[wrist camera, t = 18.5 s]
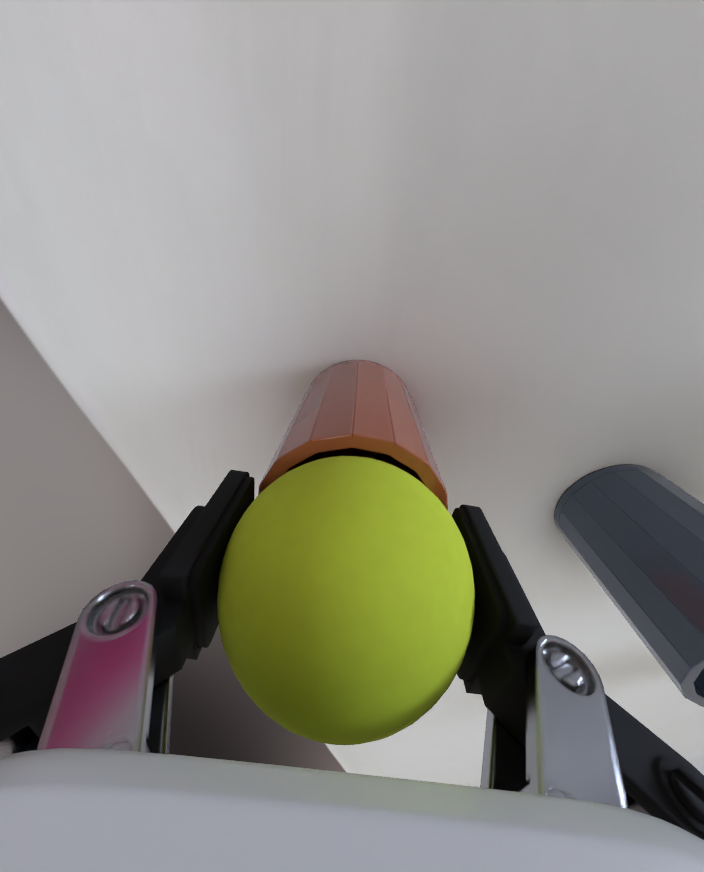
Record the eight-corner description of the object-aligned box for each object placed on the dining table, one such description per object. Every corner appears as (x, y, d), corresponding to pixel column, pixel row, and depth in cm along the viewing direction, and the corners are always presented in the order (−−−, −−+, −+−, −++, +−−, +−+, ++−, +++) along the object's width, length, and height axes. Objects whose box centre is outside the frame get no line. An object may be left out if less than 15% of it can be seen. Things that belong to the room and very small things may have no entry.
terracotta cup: (405, 349, 16) (443, 419, 9) (416, 451, 19) (451, 572, 12) (290, 370, 17) (227, 452, 9) (318, 464, 20) (288, 586, 12)
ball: (435, 401, 10) (552, 612, 4) (445, 548, 13) (516, 791, 7) (237, 433, 10) (66, 648, 4) (292, 564, 14) (234, 793, 8)
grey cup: (678, 457, 19) (949, 615, 10) (649, 535, 22) (835, 707, 13) (560, 472, 20) (716, 629, 11) (548, 545, 23) (661, 713, 14)
